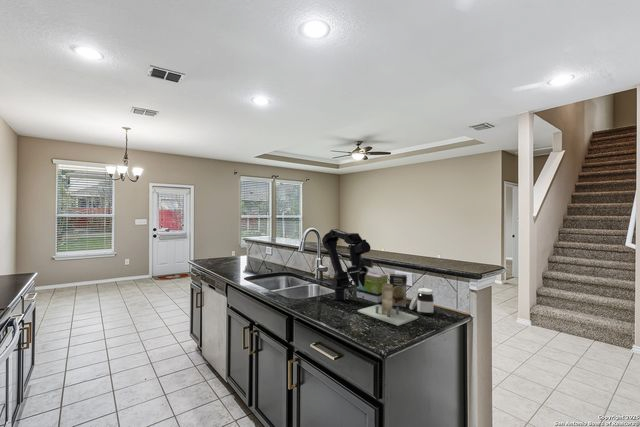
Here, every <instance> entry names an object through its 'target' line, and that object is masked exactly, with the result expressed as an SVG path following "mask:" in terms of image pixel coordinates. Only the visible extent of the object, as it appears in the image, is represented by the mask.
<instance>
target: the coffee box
mask: <svg viewBox="0 0 640 427" xmlns="http://www.w3.org/2000/svg"><path fill="white" fill-rule="evenodd" d="M407 279H408V277H407V274H398V273H396V274H395V273H390V274H389V284H392V285H393V298H392V307H393V306H395V307H404V308H405V307H407V285H408V284H407V283H408V282H407V281H408V280H407Z"/></svg>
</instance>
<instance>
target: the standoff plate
mask: <svg viewBox="0 0 640 427" xmlns="http://www.w3.org/2000/svg"><path fill="white" fill-rule="evenodd" d="M395 307H396V308H395V309H394V308H392V315H390V310H387V315H384V314H382V304H375V305H374V304H373V305H372V306H368V307H364V308H360V309H358V310H357V312H358V313H361V314H363V315H366V316H369V317H371V318H374V319H377V320H380V321H383V322H386V323H389V324H391V325H394V326H397V327H398V326H402V325H405V324H407V323H409V322H412V321H416V320H417V319H419V316H417V315H414V314H410V313H407V312H404V311H402V310H401V311H400V306H395Z"/></svg>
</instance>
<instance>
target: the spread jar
mask: <svg viewBox="0 0 640 427" xmlns="http://www.w3.org/2000/svg"><path fill="white" fill-rule="evenodd" d="M417 289H418V293H417V295H416V296H414V297H413V298H412V300H411V302H410V304H409V307H408V308H409V310H410V311H411V310H414V309H415V308H416V311H417V313H418V314H419V315H422V316H431V315H433V314H434V305H435V304H434V301H435V300H434V295H433V292H434V291H433V290H432V289H430V288H426V287H423V288H422V287H420V288H417Z"/></svg>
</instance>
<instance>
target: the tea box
mask: <svg viewBox="0 0 640 427" xmlns="http://www.w3.org/2000/svg"><path fill="white" fill-rule="evenodd" d="M365 273H366V272H365ZM384 283H388V274H384V273H379V272H374V271H370V270H369V272H368V274H366V276H365V285H364V286H363V287H362V285H361V283H360V281H359V287H357V286H356V297H357V298H358V299H359V298H360V299H363V300H366V301H369V302H373V303H376V304H378V303H382V284H384Z"/></svg>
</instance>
